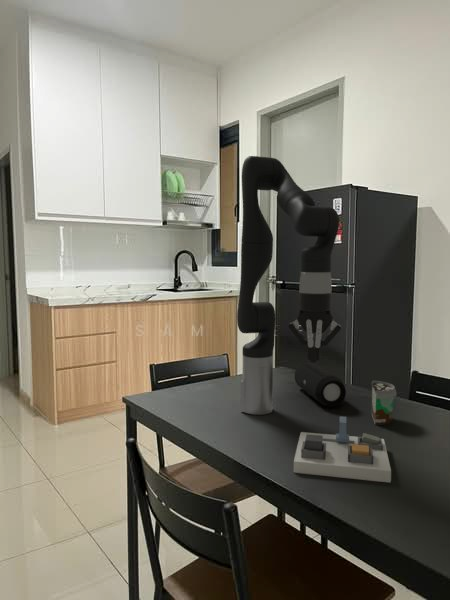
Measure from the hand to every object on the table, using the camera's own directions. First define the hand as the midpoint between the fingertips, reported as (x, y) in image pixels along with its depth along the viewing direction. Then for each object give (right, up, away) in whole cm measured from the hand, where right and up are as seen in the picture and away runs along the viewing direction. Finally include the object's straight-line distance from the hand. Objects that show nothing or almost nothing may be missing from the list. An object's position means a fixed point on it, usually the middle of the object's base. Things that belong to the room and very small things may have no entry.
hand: (314, 362), depth 114 cm
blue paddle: (+7, -19, -1) cm, 20 cm away
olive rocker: (+12, -18, -4) cm, 22 cm away
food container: (+24, -20, +21) cm, 38 cm away
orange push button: (+8, -20, -11) cm, 24 cm away
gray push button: (-2, -18, -9) cm, 20 cm away
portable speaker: (+10, -18, +44) cm, 49 cm away
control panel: (+5, -22, -6) cm, 23 cm away
